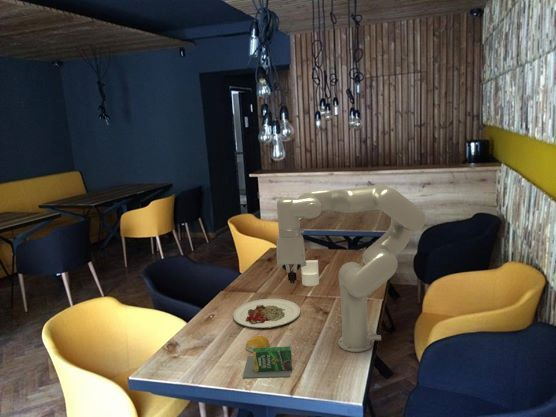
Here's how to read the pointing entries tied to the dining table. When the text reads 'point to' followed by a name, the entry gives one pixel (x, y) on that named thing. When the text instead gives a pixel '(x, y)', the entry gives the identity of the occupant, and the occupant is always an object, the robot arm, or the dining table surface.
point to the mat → (251, 373)
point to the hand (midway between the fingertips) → (292, 282)
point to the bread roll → (257, 343)
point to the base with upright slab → (310, 273)
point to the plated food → (266, 313)
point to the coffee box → (272, 359)
